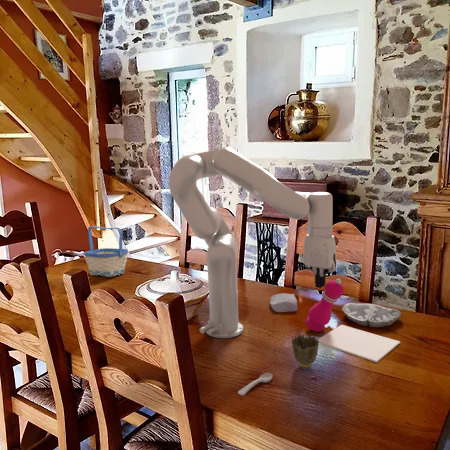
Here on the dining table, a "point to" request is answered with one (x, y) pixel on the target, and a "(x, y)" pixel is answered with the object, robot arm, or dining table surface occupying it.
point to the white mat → (358, 343)
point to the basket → (106, 257)
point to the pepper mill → (324, 306)
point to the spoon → (263, 378)
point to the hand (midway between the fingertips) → (320, 286)
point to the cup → (305, 350)
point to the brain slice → (371, 314)
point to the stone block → (283, 302)
